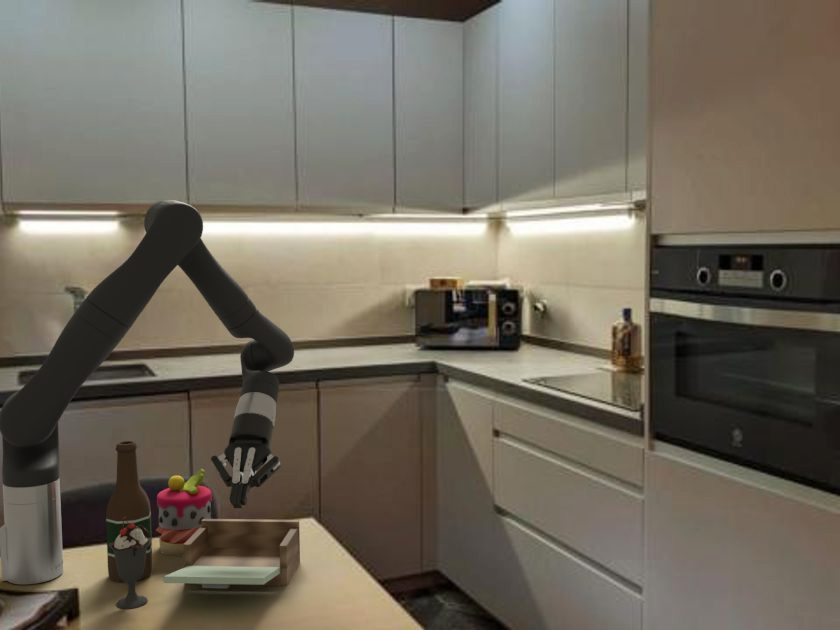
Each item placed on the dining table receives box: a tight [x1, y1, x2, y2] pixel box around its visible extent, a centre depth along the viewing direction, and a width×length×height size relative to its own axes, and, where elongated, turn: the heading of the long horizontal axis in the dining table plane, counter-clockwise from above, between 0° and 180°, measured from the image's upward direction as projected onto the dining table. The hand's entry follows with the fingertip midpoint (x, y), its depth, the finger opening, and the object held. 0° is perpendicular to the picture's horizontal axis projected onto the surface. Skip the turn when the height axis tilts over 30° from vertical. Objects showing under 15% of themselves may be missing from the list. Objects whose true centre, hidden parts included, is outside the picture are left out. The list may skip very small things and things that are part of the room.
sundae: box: [109, 517, 151, 610], centre depth 143 cm, size 7×7×15 cm
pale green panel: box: [163, 566, 281, 589], centre depth 144 cm, size 16×2×12 cm
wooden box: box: [183, 518, 301, 587], centre depth 156 cm, size 18×11×8 cm, turn 87°
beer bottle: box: [105, 440, 153, 584], centre depth 155 cm, size 8×8×24 cm
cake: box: [155, 468, 213, 557], centre depth 170 cm, size 10×11×15 cm
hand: (237, 506), depth 152 cm, fingers closed
